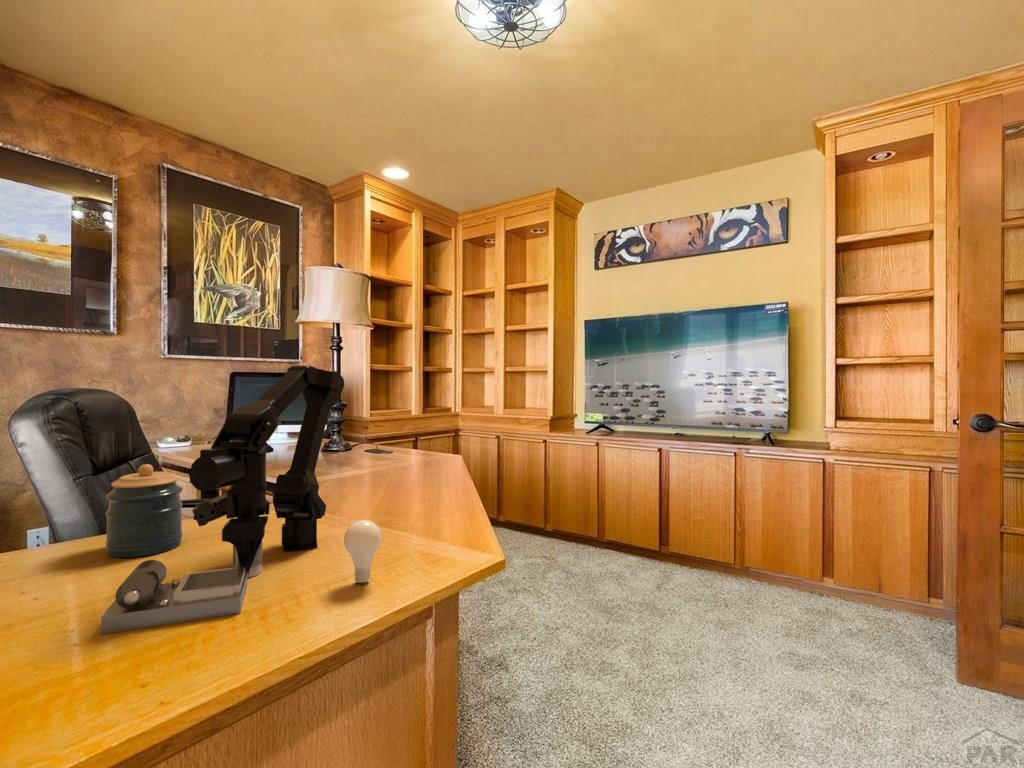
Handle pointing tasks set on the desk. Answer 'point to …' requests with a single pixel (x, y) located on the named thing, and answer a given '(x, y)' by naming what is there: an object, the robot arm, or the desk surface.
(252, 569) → the pill bottle
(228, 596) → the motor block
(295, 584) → the desk surface
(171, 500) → the canister
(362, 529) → the lightbulb
